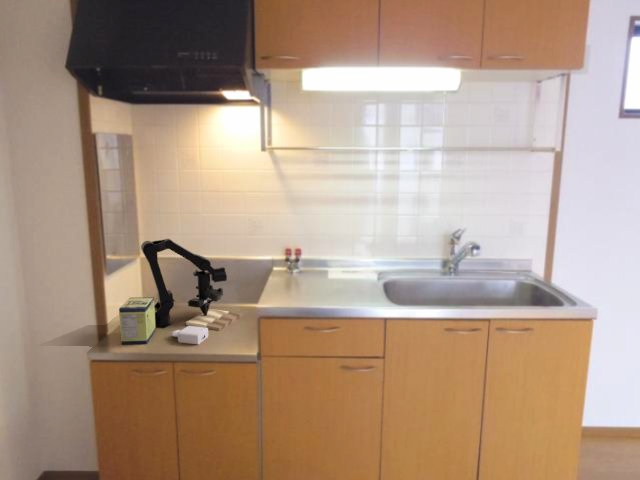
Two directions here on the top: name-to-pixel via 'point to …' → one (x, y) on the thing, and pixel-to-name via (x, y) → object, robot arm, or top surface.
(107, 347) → the top surface
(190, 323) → the oak plank
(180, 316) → the top surface
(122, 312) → the protein box
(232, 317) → the walnut board
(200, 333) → the charger
